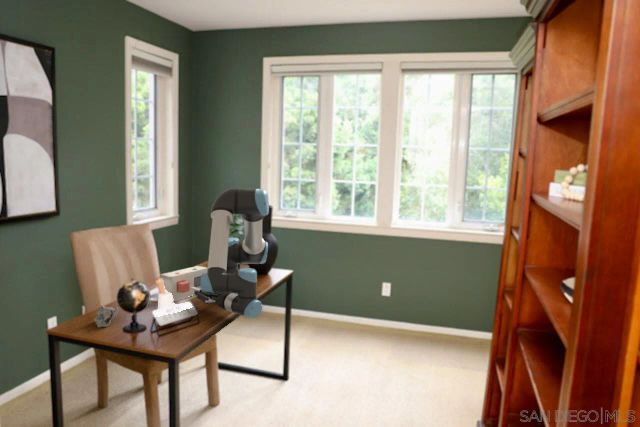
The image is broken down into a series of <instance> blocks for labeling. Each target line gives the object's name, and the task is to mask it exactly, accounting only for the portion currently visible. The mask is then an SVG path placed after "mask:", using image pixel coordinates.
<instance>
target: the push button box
mask: <svg viewBox="0 0 640 427" xmlns="http://www.w3.org/2000/svg"><path fill="white" fill-rule="evenodd" d="M207 270H208V267H206V266H202V265H194V266H189V267H186V268H181V269H177V270H172V271H168V272H164V273H160V276H159V278H160V277H161V278H163V280H164V286H165V289H166V290H167V291H168V292H170V293H172V295H173V298H174V301H175V302H179V301H182V300H185V299H184V298H186V299H188V298H187V297H188V296H192V295H194V294H191V287H194V278H195V277H199V276H202V274H203V273H207ZM180 281H186V282H189V283H190V291H188V292H185V293H181V292H178V291H177V282H180ZM196 288H199V289H201V285H199V286H196ZM192 297H193V296H192ZM181 299H182V300H181ZM178 300H179V301H178ZM175 302H174V303H175Z"/></svg>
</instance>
